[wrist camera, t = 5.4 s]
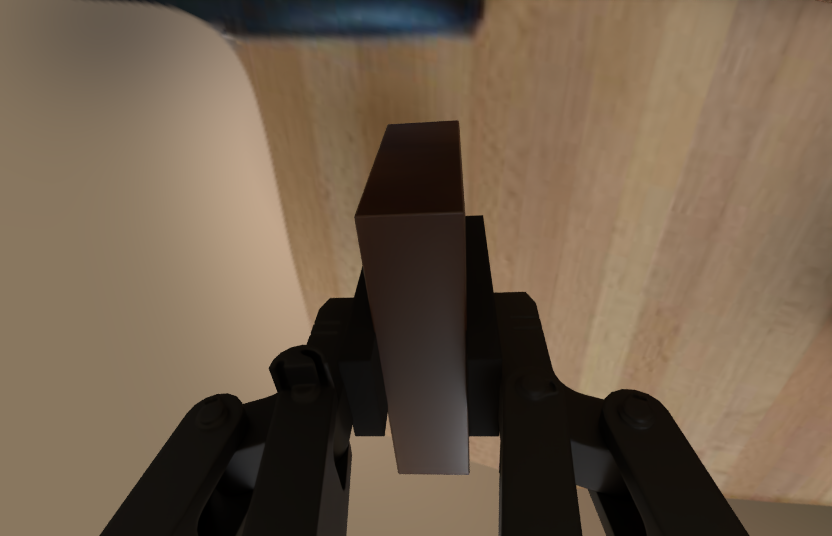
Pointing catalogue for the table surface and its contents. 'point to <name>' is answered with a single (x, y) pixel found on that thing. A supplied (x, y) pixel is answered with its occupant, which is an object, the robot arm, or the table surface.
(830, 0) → the bowl
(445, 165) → the dark brown brick
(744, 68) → the table surface
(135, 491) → the robot arm
